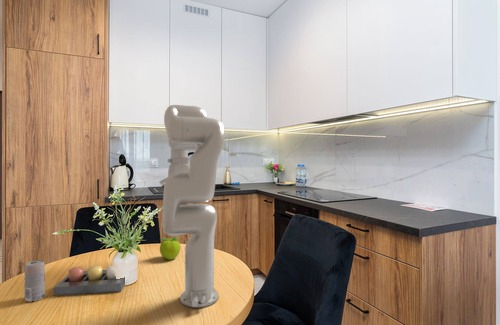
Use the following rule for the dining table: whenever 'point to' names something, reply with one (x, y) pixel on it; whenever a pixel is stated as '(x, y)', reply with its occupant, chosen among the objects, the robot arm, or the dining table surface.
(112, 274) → the ivory button
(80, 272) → the brick button
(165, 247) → the fruit
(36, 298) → the energy drink
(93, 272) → the mustard button
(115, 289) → the grey compartment tray
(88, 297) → the dining table surface
